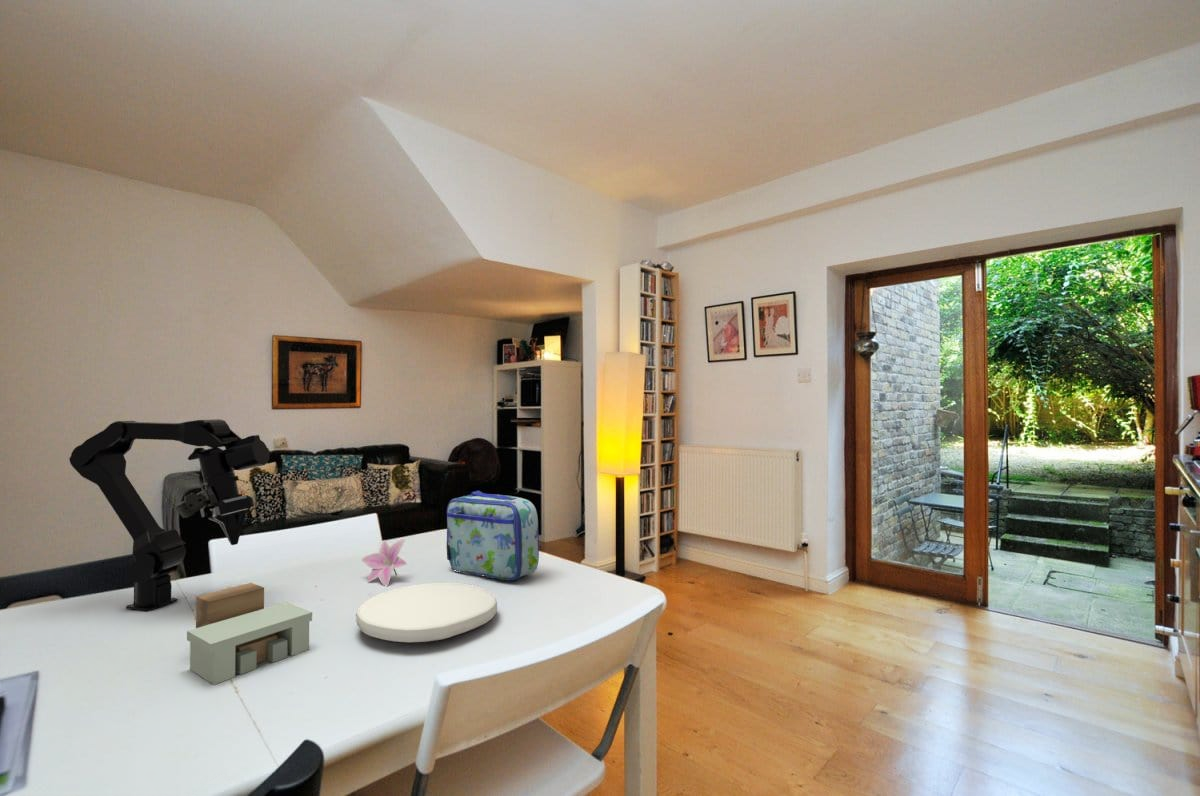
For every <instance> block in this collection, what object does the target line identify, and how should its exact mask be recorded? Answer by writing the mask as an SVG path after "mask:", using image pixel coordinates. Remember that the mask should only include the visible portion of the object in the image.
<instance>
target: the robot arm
mask: <svg viewBox="0 0 1200 796" xmlns="http://www.w3.org/2000/svg"><path fill="white" fill-rule="evenodd" d="M260 437H261V436H260V435H259V434H256V435H249V436H246V437H244V438H242V437H240V436H239V435H238V434H237V433H236V432H234V431H233V430H232V429H231V428H230V426H229V424H228V423H227V421H225V420H224V419H220V418H219V419H196V420H190V421H189V420H188V421H183V422H178V423H177V422H176V423H175V422H154V421H153V422H150V421H149V422H148V421H135V420H117V421H114V422H112V423H111V424H109V425H108V426H106V427H105V428H104V429H103V430H102V431H100V432H98V433H97V434H96V433H95V434H94V435H93V436H91V437H89V438H88V439H85V440H84V442H82V444H79V445H77V446H76V447H74V448H73V450H72V452H71V455H70V457H69V458H68V459H69V463H70V465H71V467H72V468H73V469H74V470H75V471H76V472H77V473H78V474H79V475H80V477H82V478H84V479H85V480H87V481H89V482H91V483H93V484H95V485H97V486H98V488H99V489H100V491H101V493H102V494H103V495H104V497H105V498H106V500H107V502H108V504H109V505H110V506H111V508H112V509H113V511H114V512H115V514H116V515H117V517H118V518H119V520H120V522H121V523H122V525H123V526H124V527H125V529H126V531H127V532H128V534H129V535H130V537H131V539H132V540H133V543H132V544H133V545H132V551H131V552H132V556H133V558H134V562H132V564H131V565H130V566H129V567H128V568H127V569H126V570H125V571H124V572H123V573H122V575H123V578H124V581H125V583H127V584H128V583H130V584H131V583H133V603H131V604H127V605H126V606H125V608H126V609H128V608H131V609H130V610H136V609H138V610H139V611H146V612H147V611H152V610H155V609H158V608H161V607H164V606H166V605H168V604H172V603H175V602H177V601H178V598H177V597H172V582H171V581H172V575H171V573H174V572H177V571H178V570H179V568H180V565H181V563H182V562H183V561H184V559H185V556H186V553H187V549H186V547H185V544H186V542H185V541H184V540H183V539H182V538H181V537H180V534H179V532H178V530H177V529H175V528H173V529H169V530H166V529H163V528H162V527H160V525H159V524H158V522H157V520H156V519H155V517H154V515H153V514H152V513H151V512H150V510H149V508H148V507H147V505H146V504H145V502H144V501H143V499H142V497H141V496H140V494H139V493H138V491H137V490H136V488H135V487H134V485H133V484H132V482H131V481H130V480H129V478H128V476H127V474H126V467H127V460H126V458H125V455H126V454H127V453H128V452H129V451H130V450H132V447H133V444H134V442H135V440H154V441H155V440H157V441H158V440H159V441H161V440H163V441H176V442H180V443H182V444H184V445H185V444H186V445H189V446H194V447H195V448H194V450H193V451H192V453H191V454H189V455H188V457H187V460H188V461H193V460H198V462H199V465H200V470H201V474H202V478H203V479H202V480H203V483H201V486H200V489H201V491H199V492H198V493H195V492H191V493H189V494H187V495H185V496H183V501H181V502H179V503H178V504H175V505H174V508H175V509H176V511H177V512H178V513H179V515H180V516H181V517H182V519H185V518H186V519H187V518H189V517H192V516H193V515H195V513H196V512H198V511H200V515H201V518H206V517H208V518H207V519H208V520H210V521H213V522H215V523H217V524H219V526H220V528H221V530H222V531H223V533H224V535H225V537H226V538H227V540H228V542H229V543H230V545H231V546H235V545H238V544H239V541H240V536H241V531H242V528H243V524H244V521H245V517H246V513H247V512H248V509H249V508H254V507H255V503H254V499H253V497H252V496H249V495H248V494H245V495H244V494H242V493H240V492H239V491H240V490H239V487H238V483H237V481H240V479H239V476H238V475H236V474H235V470H236V471H242V470H243V471H244V470H247V469H251V468H255V467H260V466H264V465H267V464H268V462H269V460H270V450H269V448H268V446H267V445H266V442H264V441H263V440H261V438H260ZM204 447H209V448H207V449H205V448H204ZM222 448H225V449H222ZM209 516H211V517H209Z"/></svg>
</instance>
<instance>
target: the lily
mask: <svg viewBox="0 0 1200 796" xmlns="http://www.w3.org/2000/svg"><path fill="white" fill-rule="evenodd" d="M405 542H406V539H405V538H402V539H399V540H397V541H396V542H394V543H393V544H391V545H390V546H389V544H388V542H387V541H386V540H385V539H383V541H382V543H381V544H380V547H379V551H378V552H374V553H371V554H368V555H365V556H364V557H362V558H361V561H362V563H363V564H365V565H366V566H367V567H369V568H370V569H372V570H371V571H370V573H369V574H368V577H367V578H366V579H367V580H366V583H367V582H368V583H370V582H372V581H374V580H375V579H377V578H378V579H379V580H380V582H381V584H382V586H384V585H387V587H388V586H389V583H390V580H391V576H392V573H393V571H394V574H395V576H398V574H397V571H396V569H398V568H401V567H405V566H406V565H408V563H407V562H406V560H404V559H403V558H401V557H400V556H399V554H400V553H401V550H402V548H403V545H404V543H405Z"/></svg>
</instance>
